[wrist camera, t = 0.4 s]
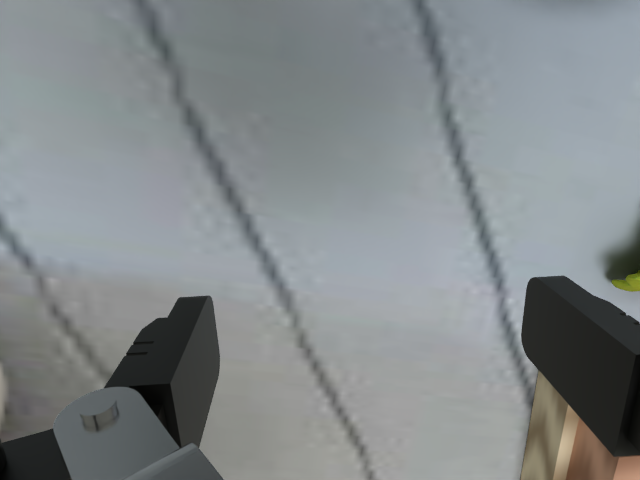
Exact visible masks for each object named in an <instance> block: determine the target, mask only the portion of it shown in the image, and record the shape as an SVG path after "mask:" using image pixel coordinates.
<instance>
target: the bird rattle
mask: <svg viewBox="0 0 640 480" xmlns="http://www.w3.org/2000/svg"><path fill="white" fill-rule="evenodd" d="M612 284H613V285H614V286H615V287H617V288H619V289H622V290H626V291H640V270H639V271H638V272H637V273H636V274H630V275H628V276H627V277H626V281H625V280H616V279H614V280H612Z"/></svg>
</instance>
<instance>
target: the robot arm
mask: <svg viewBox="0 0 640 480" xmlns="http://www.w3.org/2000/svg"><path fill="white" fill-rule="evenodd" d="M521 338H522V345H523V348H524V351H525V353H526V355H527V357H528V358H529V359H530V361H531V362H532V363H533V364H534V365H535V366H536V367H537V369H538V370H539V371H540V372H541V373H542V374H543V376H544V377H545V378H546V379H547V380H548V381H549V383H550V384H551V385H552V386H553V387H554V388H555V389H556V391H557V392H558V393H559V394H560V395H561V396H562V398H563V399H564V400H565V401H566V402H567V403H568V404H569V406H570V407H571V408H572V409H573V410H574V411H575V413H576V414H577V415H578V416H579V417H580V418H581V420H582V421H583V422H584V423H585V424H586V425H587V426H588V428H589V429H590V430H591V431H592V432H593V433H594V435H595V436H596V437H597V438H598V439H599V440H600V442H601V443H602V444H603V445H604V446H605V447H606V448H607V450H608V451H609V452H610V453H611V454H612V455H613V457H620V456H634V455H640V324H639V322H638V321H637V320H635V319H634V318H632V317H631V316H629V315H627V316H626V313H625V312H623V311H622V310H620V309H619V308H617V307H616V306H615V305H613V304H612V303H610V302H608V301H605V300H603V299H601V298H598V297H596V296H593V295H592V294H590V293H589V292H587V291H586V290H584V289H583V288H582V287H580V286H579V285H577V284H576V283H574V282H573V281H571V280H570V279H569V278H567V277H565V276H550V277H533V278H531V279H530V281H529V282H528V285H527V290H526V298H525V307H524V315H523V323H522V332H521ZM219 368H220V354H219V345H218V337H217V330H216V322H215V314H214V307H213V301H212V298H211V296H196V297H180V298H178V300H177V302H176V303H175V305H174V307H173V309H172V311H171V312H170V314H169V316H168V318H157V319H156V320H154V321H153V322H152V323H150V324H149V325H147V326H146V327H145V328H143V329H142V330H141V331H140V333H139V335H138V336H137V338H136V339H135V341H134V342H133V345H131V347H130V348H129V350H128V352H127V353H126V356H124V358H123V359H122V361H121V362H120V364H119V365H118V367H117V369H116V370H115V372H114V373H113V375H112V376H111V378H110V379H109V381H108V382H107V384H106V386H105V387H104V389H100V390H96V391H93V392H91V393H88V394H86V395H84V396H82V397H80V398H78V399H76V400H75V401H73V402H72V403H70V404H69V405H68V406H66V407H65V408H64V409H63V410H62V411H61V412H60V413H59V415H58V416H57V418H56V419H55V422H54V425H53V429H50V430H47V431H44V432H40V433H36V434H33V435H29V436H26V437H22V438H18V439H15V440H11V441H7V442H4V443H1V440H0V480H224V479H223V478H222V477H221V476H220V474H219V473H218V472H217V471H216V469H215V468H214V467H213V465H212V464H211V463H210V462H209V460H208V459H207V458H206V457H205V455H204V454H203V453H202V452H201V450H200V449H199V446H200V442H201V438H202V435H203V431H204V427H205V424H206V420H207V416H208V413H209V409H210V405H211V402H212V398H213V394H214V391H215V387H216V383H217V380H218V376H219Z"/></svg>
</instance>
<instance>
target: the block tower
mask: <svg viewBox="0 0 640 480" xmlns="http://www.w3.org/2000/svg"><path fill="white" fill-rule="evenodd" d="M520 480H640V455H634V456H620V457H613V455H612V454H611V453H610V452H609V451H608V450H607V448H606V447H605V446H604V445H603V444H602V443H601V442H600V440H599V439H598V438H597V437H596V436H595V435H594V433H593V432H592V431H591V430H590V429H589V428H588V426H587V425H586V424H585V423H584V422H583V421H582V420H581V418H580V417H579V416H578V415H577V414H576V413H575V411H574V410H573V409H572V408H571V407H570V406H569V404H568V403H567V402H566V401H565V400H564V399H563V398H562V396H561V395H560V394H559V393H558V392H557V391H556V389H555V388H554V387H553V386H552V385H551V384H550V383H549V381H548V380H547V379H546V378H545V377H544V376H543V374H542V373H541V372H540V371H539V372H538V378H537V383H536V389H535V395H534V401H533V407H532V413H531V419H530V425H529V431H528V437H527V443H526V449H525V455H524V461H523V467H522V473H521V479H520Z"/></svg>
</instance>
